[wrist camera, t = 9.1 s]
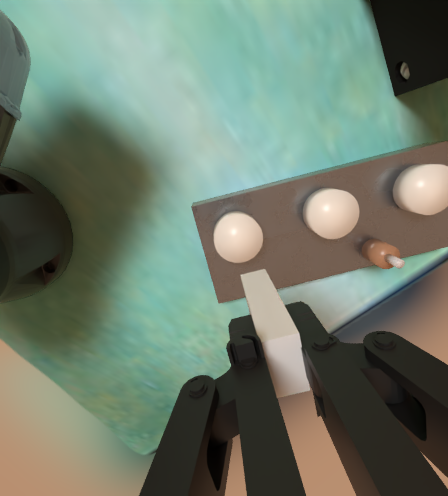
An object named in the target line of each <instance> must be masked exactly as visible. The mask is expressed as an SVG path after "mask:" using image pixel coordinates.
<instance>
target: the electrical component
mask: <svg viewBox="0 0 448 496" xmlns="http://www.w3.org/2000/svg"><path fill="white" fill-rule="evenodd" d="M370 2H371V6H372V10H373V14H374V18H375V22H376V25H377V29H378V33H379V37H380V41H381V45H382V49H383V52H384V56H385V60H386V64H387V68H388V72H389V75H390V79H391V83H392V87H393V91H394V95H395V96H397V95H400V94H403V93H406V92H409V91H412V90H414V89H417V88H420V87H423V86H426V85H429V84H431V83H434V82H437V81H440V80H443V79H446V78H448V0H370Z"/></svg>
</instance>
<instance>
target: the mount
mask: <svg viewBox="0 0 448 496" xmlns="http://www.w3.org/2000/svg"><path fill="white" fill-rule="evenodd" d="M416 164H441V165H445V166H448V141H441V142H430V143H424V144H420V145H416V146H412V147H408V148H405V149H401V150H397V151H393V152H389V153H385V154H381V155H377V156H373V157H370V158H366V159H362V160H358V161H354V162H350V163H346V164H342V165H338V166H335V167H331V168H327V169H323V170H319V171H315V172H311V173H307V174H303V175H300V176H296V177H292V178H288V179H284V180H280V181H276V182H272V183H269V184H265V185H261V186H257V187H253V188H249V189H245V190H241V191H237V192H234V193H230V194H226V195H222V196H218V197H214V198H210V199H206V200H202V201H199V202H195V203H193V204H192V206H191V207H192V211H193V214H194V218H195V221H196V225H197V229H198V232H199V236H200V239H201V243H202V246H203V250H204V253H205V257H206V260H207V264H208V267H209V271H210V274H211V278H212V281H213V285H214V289H215V292H216V296H217V299H218V303H223V302H227V301H231V300H235V299H239V298H243V297H246V296H245V292H244V288H243V284H242V280H241V276H240V275H242V274H246V273H250V272H254V271H258V270H262V269H265V270H266V272H267V274H268V275H269V277H270V279H271V281H272V283H273V285H274V287H275V289H279V288H283V287H287V286H291V285H295V284H300V283H304V282H308V281H312V280H316V279H320V278H324V277H328V276H332V275H336V274H340V273H344V272H348V271H352V270H356V269H360V268H364V267H368V266H372V265H375V264H374V263H372V262H370V261H369V260H367V259H366V258H364V257H363V255H362V247H363V245H364V243H365V242H366V241H368V240H370V239H379V240H381V241H383V242H385V243H387V244H390V245H392V246H394V247H396V248H397V249H398V250H399V252H400V258H404V257H408V256H412V255H416V254H420V253H424V252H428V251H432V250H436V249H440V248H444V247H448V206H447V207H446V208H445V209H444V210H442V211H441V212H439V213H436V214H433V215H422V214H418V213H414V212H410V211H406V210H403V209H401V208H400V207H399V206H398V205H397V204H396V203H395V201H394V198H393V187H394V183H395V181H396V179H397V177H398V176H399V175H400V173H401V172H402V171H404V170H405V169H406V168H408V167H410V166H412V165H416ZM322 188H333V189H338V190H343V191H346V192H348V193H350V194H351V195H353V196H354V197H355V199H356V200H357V202H358V205H359V218H358V221H357V223H356V225H355V227H354V228H353V229H352V231H351V232H349V233H348V234H347V235H345V236H343V237H341V238H338V239H326V238H323V237H321V236H320V235H318V234H317V233H315V232H314V231H312V230H311V229H309V228H308V227H307V225H306V224H305V222H304V219H303V207H304V204H305V202H306V200H307V199H308V197H309V196H310V195H311V194H312V193H314V192H315V191H317V190H319V189H322ZM232 211H241V212H245V213H247V214H249V215H250V216H251V217H253V218H254V220H255V221H256V222H257V223H258V225H259V226H260V228H261V230H262V233H263V243H262V247H261V249H260V251H259V252H258V254H257V255H256V256H255V257H253V258H252V259H250V260H248V261H246V262H242V263H234V262H230V261H227V260H225V259H224V258H222V257H221V256H220V255H219V253H218V252H217V250H216V248H215V245H214V227H215V225H216V223H217V221H218V220H219V219H220V218H221V217H222V216H223V215H225V214H226V213H229V212H232Z"/></svg>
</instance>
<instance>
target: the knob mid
mask: <svg viewBox="0 0 448 496" xmlns="http://www.w3.org/2000/svg"><path fill="white" fill-rule="evenodd" d="M358 218H359V205H358V202H357V200H356V199H355V197H354V196H353V195H351V194H350V193H348V192H346V191H343V190H338V189H333V188H322V189H319V190H317V191H315V192H314V193H312V194H311V195H310V196H309V197H308V199H307V200H306V202H305V204H304V207H303V219H304V222H305V224H306V225H307V227H308V228H309V229H311V230H312V231H314V232H315V233H317V234H318V235H320V236H321V237H323V238H326V239H338V238H341V237H343V236H345V235H347V234H348V233H349V232H351V231H352V229H353V228H354V227H355V225H356V223H357V221H358Z"/></svg>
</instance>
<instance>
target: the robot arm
mask: <svg viewBox="0 0 448 496" xmlns="http://www.w3.org/2000/svg"><path fill="white" fill-rule="evenodd" d="M30 65H31V59H30V52H29V49H28V46H27V44H26V41H25V39H24V38H23V36H22V34H21V33H20V31H19V30H18V28H17V27H16V26H15V25H14V23H13V22H12V21H11V20H10V19H9V18H8V17H7V16H6V15H5V14H4V13H3V12H2V11H1V10H0V166H1V163H2V160H3V157H4V154H5V152H6V149H7V146H8V143H9V140H10V138H11V135H12V132H13V129H14V126H15V123H16V121H17V120H19V121H20V119H21V114H22V113H21V111H20V105H21V101H22V97H23V92H24V89H25V85H26V81H27V78H28V74H29V71H30ZM72 247H73V236H72V230H71V226H70V222H69V220H68V217H67V215H66V213H65V211H64V209H63V207H62V206H61V204H60V203H59V202H58V200H57V199H56V198H55V196H54V195H53V194H52V193H51V192H50V191H49V190H48V189H47V188H46V187H44V186H43V185H42V184H41V183H39V182H38V181H36V180H35V179H33V178H31V177H30V176H28V175H26V174H23V173H21V172H19V171H16V170H13V169H9V168H4V167H0V303H4V302H8V301H13V300H17V299H21V298H25V297H28V296H31V295H33V294H35V293H37V292H39V291H41V290H43V289H44V288H45V287H47V286H48V285H49V284H51V283H52V282H53V281H55V280H56V279H57V278H58V277H59V276H60V275H61V274H62V273H63V271H64V270H65V268H66V267H67V265H68V263H69V260H70V257H71V253H72ZM240 276H241V280H242V284H243V288H244V292H245V296H246V300H247V304H248V308H249V312H250V315H247V316H243V317H239V318H235V319H232V320H231V322H230V324H229V326H228V327H229V335H230V341H229V342H228V343H227V348H226V349H227V352H228V356H229V359H230V363H231V367H230V369H229V370H228V371H227V372H226V373H225V374H224V375H222V376H221V377H219V378H217V379H215V380H213V378H211V377H210V376H206V375H200V376H196V377H194V378H192V379H190V380H188V381H187V382H186V383H185V384H184V385H183V387H182V389H181V390H180V393H179V396H178V398H177V401H176V403H175V406H174V408H173V411H172V413H171V416H170V418H169V421H168V424H167V426H166V429H165V431H164V434H163V436H162V439H161V441H160V444H159V446H158V449H157V451H156V454H155V457H154V459H153V462H152V464H151V467H150V469H149V472H148V475H147V477H146V479H145V482H144V485H143V487H142V490H141V492H140V495H139V496H224V495H225V489H226V482H227V476H228V469H229V461H230V456H231V449H232V438H233V437H235V436H236V435H238V434H240V440H241V449H242V457H243V466H244V473H245V482H246V491H247V496H306V494H305V490H304V487H303V483H302V480H301V477H300V473H299V470H298V467H297V463H296V460H295V456H294V453H293V450H292V446H291V443H290V440H289V436H288V433H287V430H286V426H285V423H284V420H283V416H282V413H281V409H280V406H279V403H278V399H277V398H281V397H285V396H289V395H293V394H298V393H301V392H306V391H310V387H309V384H310V386H311V388H312V390H313V395H314V399H315V405H316V410H317V415H318V416H320V414H321V417H322V419H323V421H324V423H325V425H326V428H327V430H328V432H329V434H330V437H331V439H332V441H333V444H334V446H335V448H336V450H337V453H338V455H339V457H340V460H341V462H342V464H343V466H344V469H345V471H346V473H347V475H348V477H349V480H350V482H351V484H352V486H353V489H354V491H355V493H356V496H448V489H447V488H446V486H445V485H444V483H443V482H442V480H441V479H440V478H439V476H438V475H437V474H436V472H435V471H434V470H433V468H432V467H431V465H430V464H429V463H428V461H427V460H426V459H425V457H424V456H423V454H424V455H425V456H426V457H427V458H428V459H429V460H430V461H431V462H432V463H433V464H434V465H435V466H436V467H437V468H438V469H439V470H440V471H441V472H442V473H443V474H444V475H445V476H447V477H448V365H447V364H445V363H444V362H442V361H440V360H439V359H437V358H435V357H434V356H432V355H430V354H429V353H427V352H425V351H424V350H422V349H420V348H419V347H417V346H415V345H414V344H412V343H410V342H409V341H407V340H405V339H404V338H402V337H400V336H399V335H396V334H394V333H391V332H386V331H376V332H372V333H369V334H368V335H366V336H365V338H364V340H363V344H362V343H361V344H360V343H359V344H350V343H342V342H340V341H339V339H337V338H336V337H335V336H333V335H331V334H328V333H327V331H326V330H325V328H324V327H323V326H322V324H321V323H320V321H319V320H318V318H317V317H316V316H315V314H314V313H313V311H312V310H311V308H310V307H309V306H308V305H307V304H305V303H303V302H301V301H300V302H296V303H292V304H288V305H284V304H283V302H282V300H281V298H280V296H279V294H278V292H277V290H276V289H275V287H274V285H273V283H272V281H271V279H270V277H269V275H268V274H267V272H266V270H265V269H262V270H258V271H254V272H250V273H246V274H242V275H240ZM420 451H421V452H422V453H423V454H422V453H421V452H420Z"/></svg>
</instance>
